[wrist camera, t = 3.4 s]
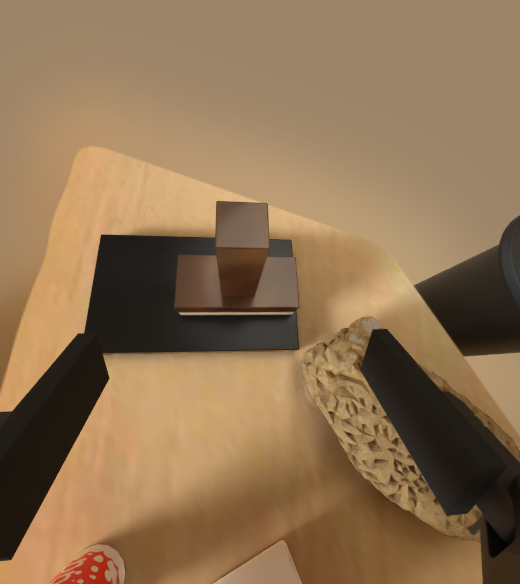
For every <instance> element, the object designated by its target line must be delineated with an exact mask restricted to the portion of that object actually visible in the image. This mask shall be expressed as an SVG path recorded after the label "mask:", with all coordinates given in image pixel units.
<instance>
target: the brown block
mask: <svg viewBox="0 0 520 584" xmlns="http://www.w3.org/2000/svg"><path fill="white" fill-rule="evenodd" d="M269 249H270V245H269V221H268V204H267V203H249V202H226V201H217V202H216V233H215V250H216V256H215V255H178V262H177V276H176V290H175V304H174V308H175V309H176V310H177V311H178V312H179V314H180V315H289V314H293V313H294V312H295V311H296V310H297V309H298V308H299V299H298V285H297V271H296V258H295V257H267V255H268V252H269Z"/></svg>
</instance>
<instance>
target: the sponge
mask: <svg viewBox="0 0 520 584" xmlns="http://www.w3.org/2000/svg"><path fill="white" fill-rule="evenodd" d="M372 329H381V328H380V322H379V321H378V320H376V319H375V318H374V317H362V318H360V319H358V320H356V321H355V322H353V323H352V324H351V325H350V328H344V329H341V331H340V332H338V333H337V334H335V335H334V340H332V341H331V342H330V344H329V345H328V346H327V345H326V344H325V343H324V342H322V343H320V344H317V345H316V346H315V347H313V348H311V349H309V350H308V351H307V352H305V354H304V356H303V358H302V361H301V363H302V369H303V375H304V380H305V383H306V386H307V388H308V390H309V392H310V394H311V396H312V398H313V400H314V402H315V404H316V405H317V406H318V407H319V408H320V410H321V411H322V412H323V414H324V416H325V417H326V419H327V421H328V422H329V424H330V425H331V427H332V428H333V430H334V432H335V433H336V435H337V437H338V439H339V442H340V444H341V445H342V447H343V448H344V451H345V452H346V454H347V456H348V458H349V460H350V461H351V463H352V464H353V466H354V467H355V468H356V470H357V471H358V472H359V473H360V474H362V475H363V477H364V478H365V479H367V480H369V481H370V482H371V483H372V484H373V485H374V487H375V488H376V489H378V490H380V491H381V492H382V493H383V494H384V496H385V497H386V498H387V499H388V500H390V501H391V502H393V503H396V504H398V505H399V506H400V507H401V508H402V509H403V510H408V511H409V512H411V513H412V514H414V515H416V516H417V517H418V518H419V519H420V520H422V521H424V522H425V523H427V524H429V525H430V526H432V527H433V528H435V529H436V530H438V531H439V532H441V533H442V534H444V535H445V536H446V535H449V536H456V537H458V538H460V539H461V540H467V541H478V542H481V540H480V529H479V530H478V531H477V533H476V534H475V535H472V534H470V529H471V526H472V525H473V524H474V523H475V522H476V521H477V520H478V519H479V518H480V517H481V515H482V512H481V511H480V510H479V508H478V507H477V505H475V506H474V507H473V508H472V509H471V510H470V512H469V513H468V514H461V515H451V516H446V514H445V512H444V511H443V509H442V507H441V506H440V504H439V502H438V501H437V499H436V497H435V495H434V494H433V492H432V490H431V489H430V487H429V485H428V484H427V482H426V480H425V479H424V477H423V475H422V474H421V472H420V470H419V469H418V467H417V465H416V464H415V462H414V460H413V458H412V457H411V455H410V453H409V452H408V450H407V448H406V447H405V445H404V443H403V442H402V440H401V438H400V437H399V435H398V433H397V432H396V430H395V428H394V426H393V425H392V423H391V421H390V420H389V418H388V416H387V415H386V413H385V411H384V410H383V408H382V406H381V405H380V403H379V401H378V400H377V398H376V396H375V394H374V393H373V391H372V389H371V388H370V386H369V384H368V383H367V381H366V379H365V378H364V376H363V374H362V373H361V371H360V368H361V365H362V362H363V359H364V355H365V352H366V349H367V346H368V342H369V339H370V336H371V333H372ZM418 365H419V364H418ZM419 366H420V367H421V368H422V369H423V371H424V372H425V373H426V374H427V375H428V376H429V377H430V378H431V380H432V381H433V382H434V383H435V384H436V385H437V386H438V388H439V389H440V390H441V391H442V392H448V391H449V392H450V393H452V394H453V395H455V396H456V397H457V398H459V399H460V400H462V401H463V402H464V403H465V404H466V405H467V406H468V407H469V408H470V409H471V410H472V412H473V413H474V415H475V416H477V417H478V418H479V419H480V420H481V421H482V422H483V423H484V426H485V427H487V428H488V429H489V430H490V431H491V432H492V433H493V434H494V435H495V436H496V437H497V438H498V439H499V440H500V442H501V443H502V444H503V445H504V446H505V447H506V448H507V449H508V450H509V451H510V452H511V453H512V454H513V455H514V457H515V458H516V459H517V460H518V461H519V462H520V451H519V450H518V448H517V447H516V445H515V443H514V442H513V440H512V438H511V437H510V436H509V435H507V434H506V433H505V432H504V431H503V430H502V429H501V428H500V427H499V426H498V425H497V424H496V423H495V422H494V421H493V420H492V419H491V418H490V417H489V416H487V415H486V414H485V413H483V412H482V411H481V410H479V409H478V408H477V407H475V406H474V405H473V404H472V403H471V402H470V401H469V400H468V399H467V398H465V397H464V396H462V395H460V394H458V393H457V392H456V391H454V390H453V389H452V388H451V387H450V386H449V385H448V384H447V381H445V380H444V379H442V378H440V377H439V376H437V375H436V374H435V373H434V372H431V371H429V370H427V369H426V368H424V367H422V366H421V365H419Z"/></svg>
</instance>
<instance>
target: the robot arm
mask: <svg viewBox="0 0 520 584" xmlns="http://www.w3.org/2000/svg"><path fill="white" fill-rule="evenodd" d="M360 371H361V373H362V374H363V376H364V378H365V379H366V381H367V383H368V384H369V386H370V388H371V389H372V391H373V393H374V394H375V396H376V398H377V400H378V401H379V403H380V405H381V406H382V408H383V410H384V411H385V413H386V415H387V416H388V418H389V420H390V421H391V423H392V425H393V426H394V428H395V430H396V432H397V433H398V435H399V437H400V438H401V440H402V442H403V443H404V445H405V447H406V448H407V450H408V452H409V453H410V455H411V457H412V458H413V460H414V462H415V464H416V465H417V467H418V469H419V470H420V472H421V474H422V475H423V477H424V479H425V480H426V482H427V484H428V485H429V487H430V489H431V490H432V492H433V494H434V495H435V497H436V499H437V501H438V502H439V504H440V506H441V507H442V509H443V511H444V512H445V514H446V516H451V515H461V514H468V513H469V512H470V510H471V509H472V508H473V507H474V506H475V505H477V507H478V508H479V510H480V511H481V512H482V515H481V517H480V518H479V519H478V520H477V521H476V522H475V523H474V524H473V525H472V526H471V529H470V534H472V535H475V534H476V533H477V531H478V530H479V529H480V540H481V556H482V574H483V584H520V462H519V461H518V460H517V459H516V458H515V457H514V455H513V454H512V453H511V452H510V451H509V450H508V449H507V448H506V447H505V446H504V445H503V444H502V443H501V442H500V440H499V439H498V438H497V437H496V436H495V435H494V434H493V433H492V432H491V431H490V430H489V429H488V428H487V427H485V426H484V423H483V422H482V421H481V420H480V419H479V418H478V417H477V416H475V415H474V413H473V412H472V410H471V409H470V408H469V407H468V406H467V405H466V404H465V403H464V402H463V401H462V400H460V399H459V398H457V397H456V396H455V395H453V394H452V393H450V392H449V391H448V392H442V391H441V390H440V389H439V388H438V386H437V385H436V384H435V383H434V382H433V381H432V380H431V378H430V377H429V376H428V375H427V374H426V373H425V372H424V371H423V369H422V368H421V367H420V366H419V365H418V364H417V363H416V362H415V360H414V359H413V358H412V357H411V356H410V355H409V354H408V352H407V351H406V350H405V349H404V348H403V347H402V346H401V345H400V343H399V342H398V341H397V340H396V339H395V338H394V337H393V336H392V334H391V333H390V332H389V331H388V330H387V329H372V333H371V336H370V339H369V342H368V346H367V349H366V352H365V355H364V359H363V362H362V365H361V368H360ZM108 380H109V375H108V371H107V368H106V364H105V361H104V358H103V354H102V351H101V347H100V344H99V340H98V337H97V334H96V333H84V334H77V336H76V337H75V338H74V339H73V340H72V341H71V343H70V344H69V345H68V346H67V347H66V349H65V350H64V351H63V352H62V353H61V354H60V356H59V357H58V358H57V359H56V360H55V362H54V363H53V364H52V365H51V366H50V367H49V369H48V370H47V371H46V372H45V373H44V375H43V376H42V377H41V378H40V379H39V380H38V382H37V383H36V384H35V385H34V386H33V388H32V389H31V390H30V391H29V392H28V393H27V395H26V396H25V397H24V398H23V399H22V400H21V402H20V403H19V404H18V405H17V406H16V408H15V409H14V410H13V411H11V412H0V561H6V560H11V559H12V558H13V556H14V554H15V552H16V550H17V548H18V547H19V545H20V543H21V541H22V539H23V537H24V535H25V534H26V532H27V530H28V528H29V526H30V524H31V522H32V521H33V519H34V517H35V515H36V513H37V511H38V510H39V508H40V506H41V504H42V502H43V500H44V498H45V497H46V495H47V493H48V491H49V489H50V487H51V485H52V484H53V482H54V480H55V478H56V476H57V474H58V473H59V471H60V469H61V467H62V465H63V463H64V461H65V460H66V458H67V456H68V454H69V452H70V450H71V448H72V447H73V445H74V443H75V441H76V439H77V437H78V436H79V434H80V432H81V430H82V428H83V426H84V424H85V423H86V421H87V419H88V417H89V415H90V413H91V411H92V410H93V408H94V406H95V404H96V402H97V400H98V399H99V397H100V395H101V393H102V391H103V389H104V387H105V386H106V384H107V382H108Z"/></svg>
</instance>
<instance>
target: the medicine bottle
mask: <svg viewBox="0 0 520 584" xmlns="http://www.w3.org/2000/svg"><path fill="white" fill-rule="evenodd" d="M213 584H302V582H301V580H300V577H299V574H298V572H297V569H296V567H295V564H294V562H293V559H292V557H291V554H290V552H289V549H288V546H287V544H286V542H285V541H284V540H280V541H279V542H277V543H276V544H274V545H272V546H271V547H269V548H268V549H266V550H265V551H263V552H261V553H260V554H258V555H257V556H255V557H254V558H252V559H250V560H249V561H247V562H246V563H244V564H243V565H241V566H240V567H238V568H236V569H235V570H233V571H232V572H230V573H229V574H227V575H225V576H224V577H222V578H221V579H219V580H218V581H216V582H214V583H213Z"/></svg>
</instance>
